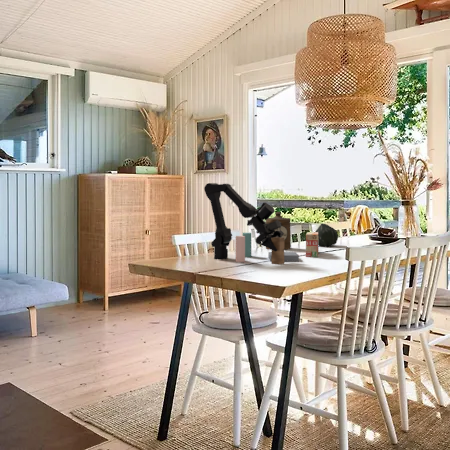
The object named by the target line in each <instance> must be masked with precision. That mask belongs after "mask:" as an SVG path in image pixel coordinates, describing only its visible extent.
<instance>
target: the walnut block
mask: <svg viewBox="0 0 450 450" xmlns="http://www.w3.org/2000/svg"><path fill="white" fill-rule="evenodd" d="M272 242H273V244H274V245H275V247H276V248H277V251H274V250H271V252H272V261H271V264H272V265H283V264H285V261H284V252H285V250H284V238H283V237H274V238H272Z"/></svg>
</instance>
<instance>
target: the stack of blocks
mask: <svg viewBox="0 0 450 450" xmlns="http://www.w3.org/2000/svg"><path fill="white" fill-rule="evenodd" d="M305 257H306V258H318V257H319V246H318V232H316V231H315V232H313V231H310V232H309V231H308V232H306V234H305Z"/></svg>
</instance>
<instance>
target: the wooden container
mask: <svg viewBox="0 0 450 450" xmlns="http://www.w3.org/2000/svg"><path fill="white" fill-rule="evenodd" d="M274 214H275V215H274V216H273V217H269V218H268V219H267V220H265V223H266V224H270V223H272V222H274V221H276V220H278V221H280V222H281V227H280V228H277V229H275V231H278V230H281V231H282V232H283V233H284V234H283V235H282V237H283V238H284V247H285V249H284V251H285V250H286V251H287V250H290V249H291V239H292V237H291V235H292V233H291V218H290V217H289V218H288V217H283V216H282V213H281V212H280V211H276V212H274ZM273 233H274V232H273ZM265 248H266V249H267V250H270V249H269V248H267V247H265Z"/></svg>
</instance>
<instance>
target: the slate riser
mask: <svg viewBox="0 0 450 450" xmlns="http://www.w3.org/2000/svg"><path fill="white" fill-rule="evenodd" d="M299 256H300V255H299V254H298V253H297V252H296V251H284V262H299V260H300V257H299ZM267 258H268V259H269V261H270V262H272V251H269V252H268V257H267Z"/></svg>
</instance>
